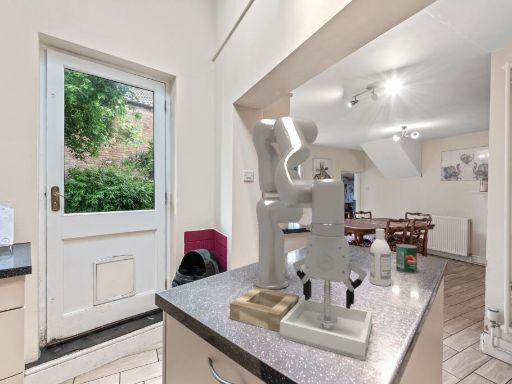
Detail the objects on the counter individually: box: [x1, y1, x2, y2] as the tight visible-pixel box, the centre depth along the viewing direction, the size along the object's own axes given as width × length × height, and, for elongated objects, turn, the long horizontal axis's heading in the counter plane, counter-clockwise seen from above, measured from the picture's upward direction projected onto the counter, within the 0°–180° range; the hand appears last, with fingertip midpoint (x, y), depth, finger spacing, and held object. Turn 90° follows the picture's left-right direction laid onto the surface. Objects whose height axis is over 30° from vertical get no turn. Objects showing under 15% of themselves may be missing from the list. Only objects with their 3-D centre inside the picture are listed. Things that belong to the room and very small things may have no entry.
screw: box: [317, 280, 338, 330], centre depth 63 cm, size 13×5×5 cm
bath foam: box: [369, 228, 392, 287], centre depth 97 cm, size 7×7×20 cm
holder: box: [229, 286, 300, 333], centre depth 71 cm, size 14×14×4 cm
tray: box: [279, 297, 373, 362], centre depth 62 cm, size 16×18×4 cm
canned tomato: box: [395, 243, 418, 275], centre depth 113 cm, size 8×8×11 cm
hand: (327, 302), depth 62 cm, fingers open, 9 cm apart
